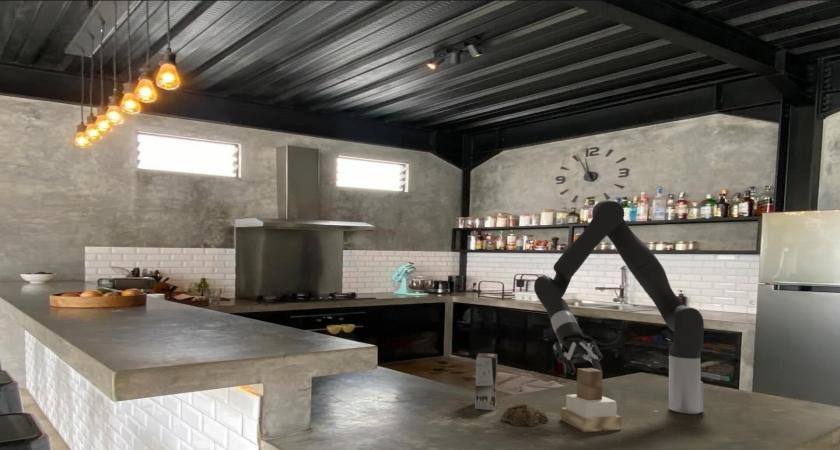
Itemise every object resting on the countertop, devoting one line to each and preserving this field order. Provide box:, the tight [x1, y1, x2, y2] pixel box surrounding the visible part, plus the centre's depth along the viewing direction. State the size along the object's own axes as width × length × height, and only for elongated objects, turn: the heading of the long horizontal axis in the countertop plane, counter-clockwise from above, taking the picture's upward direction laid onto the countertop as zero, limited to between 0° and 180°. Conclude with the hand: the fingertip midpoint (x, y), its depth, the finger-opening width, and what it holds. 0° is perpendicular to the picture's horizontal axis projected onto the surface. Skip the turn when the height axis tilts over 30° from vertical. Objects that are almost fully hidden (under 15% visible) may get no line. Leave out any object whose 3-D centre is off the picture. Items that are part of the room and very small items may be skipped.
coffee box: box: [474, 352, 498, 411], centre depth 181 cm, size 9×6×16 cm
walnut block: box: [576, 367, 603, 400], centre depth 164 cm, size 5×5×8 cm
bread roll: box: [501, 403, 549, 427], centre depth 166 cm, size 13×12×5 cm
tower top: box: [565, 393, 618, 418], centre depth 164 cm, size 10×10×4 cm
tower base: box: [560, 406, 622, 433], centre depth 164 cm, size 12×12×4 cm
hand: (586, 373), depth 166 cm, fingers open, 8 cm apart
